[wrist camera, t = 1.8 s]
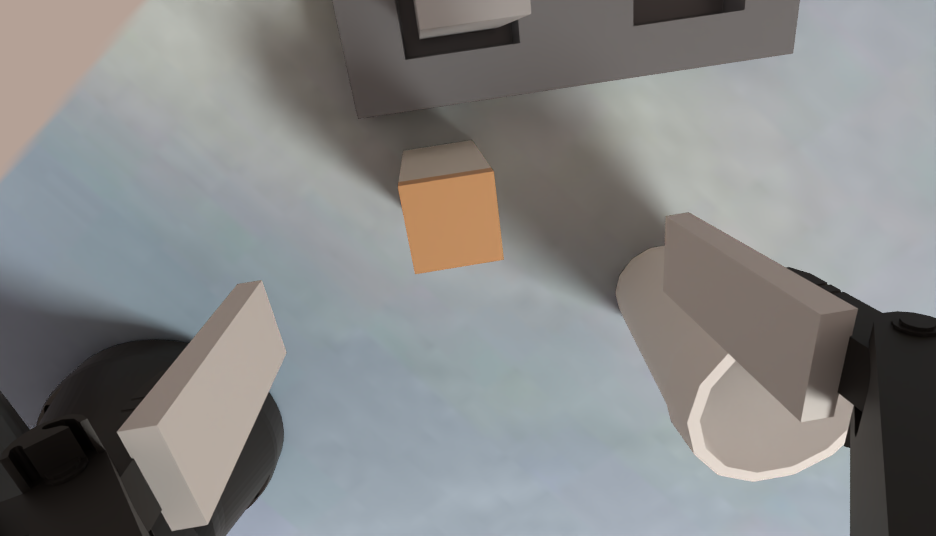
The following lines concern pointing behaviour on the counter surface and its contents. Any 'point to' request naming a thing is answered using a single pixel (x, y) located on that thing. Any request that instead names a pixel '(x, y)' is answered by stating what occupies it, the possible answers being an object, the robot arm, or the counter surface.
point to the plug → (449, 207)
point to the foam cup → (718, 388)
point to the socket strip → (548, 47)
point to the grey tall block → (466, 15)
